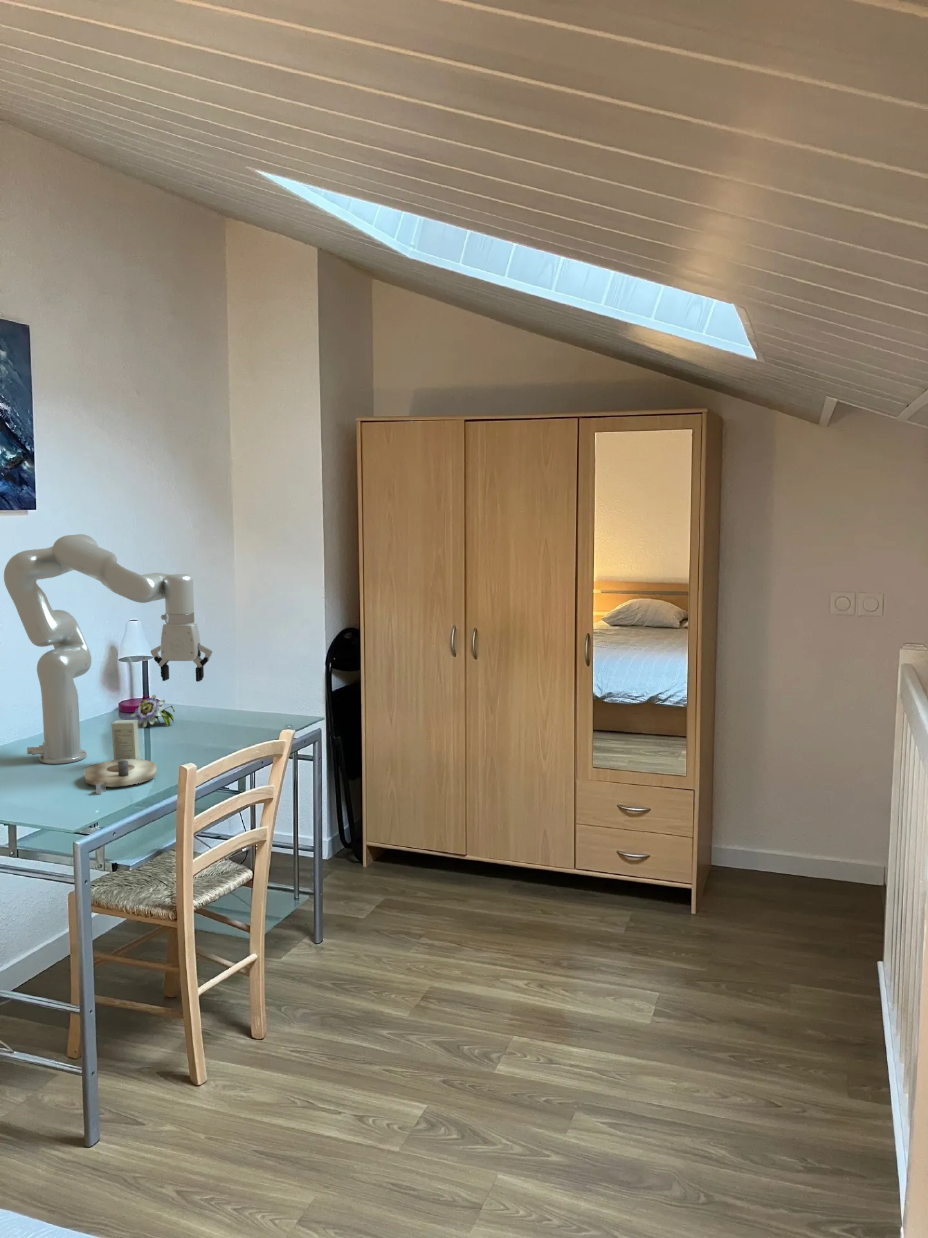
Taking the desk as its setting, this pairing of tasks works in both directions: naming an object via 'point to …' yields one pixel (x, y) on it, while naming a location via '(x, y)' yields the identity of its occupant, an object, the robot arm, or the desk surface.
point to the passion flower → (152, 711)
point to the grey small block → (101, 787)
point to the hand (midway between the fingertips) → (182, 680)
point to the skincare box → (125, 739)
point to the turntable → (120, 772)
